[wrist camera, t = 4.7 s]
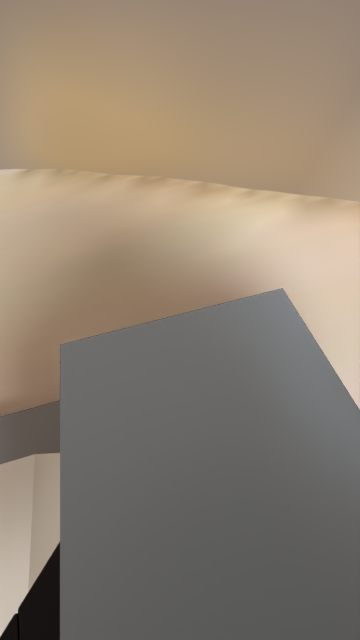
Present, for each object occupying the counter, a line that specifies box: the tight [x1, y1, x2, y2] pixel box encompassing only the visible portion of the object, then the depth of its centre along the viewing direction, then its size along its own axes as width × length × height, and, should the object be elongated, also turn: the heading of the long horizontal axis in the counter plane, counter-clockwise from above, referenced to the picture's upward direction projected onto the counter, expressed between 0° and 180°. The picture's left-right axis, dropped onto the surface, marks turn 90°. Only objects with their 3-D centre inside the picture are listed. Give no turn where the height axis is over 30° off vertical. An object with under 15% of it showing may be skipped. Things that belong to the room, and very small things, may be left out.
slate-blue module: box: [60, 288, 360, 640], centre depth 8 cm, size 5×4×11 cm
